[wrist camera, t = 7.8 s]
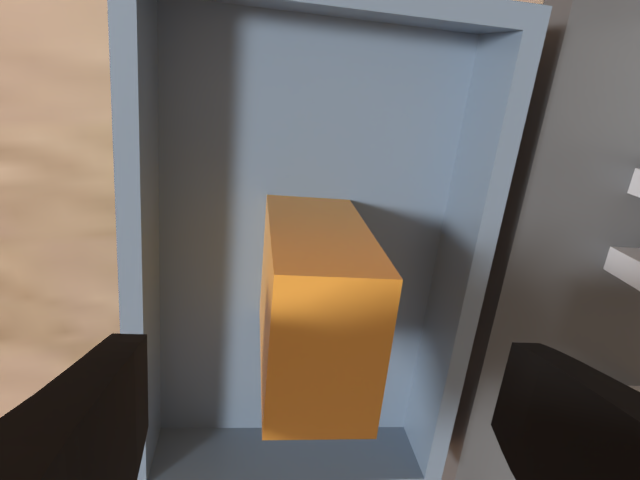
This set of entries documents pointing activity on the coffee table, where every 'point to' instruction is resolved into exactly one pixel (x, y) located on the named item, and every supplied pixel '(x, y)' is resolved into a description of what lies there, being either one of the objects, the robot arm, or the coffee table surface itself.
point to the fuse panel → (564, 224)
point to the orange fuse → (323, 321)
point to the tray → (309, 181)
